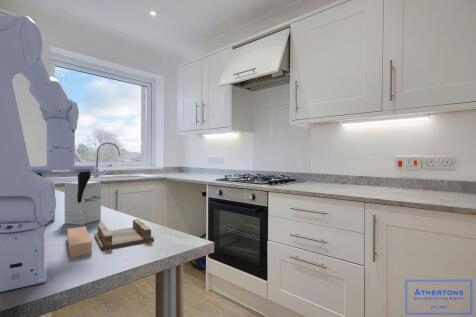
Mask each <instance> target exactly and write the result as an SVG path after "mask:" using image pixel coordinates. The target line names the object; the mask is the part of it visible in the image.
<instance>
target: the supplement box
mask: <svg viewBox="0 0 476 317" xmlns="http://www.w3.org/2000/svg"><path fill="white" fill-rule="evenodd" d="M77 194H78V181H72V182H71V181H70V182H65V183H64V224H69V225H70V224H71V225H77V226H78V225H80V226H85V225H86V224H89V223H93V222H96V221H99V220H101V219H102V218H101V217H102V216H101V215H102V214H101V212H102V181H100V180H99V181H93V180H89V181H88V183H87V185H86V187H85V189H84V192H83V195H82V200H81V203H78V202H77Z"/></svg>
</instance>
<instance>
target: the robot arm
mask: <svg viewBox="0 0 476 317" xmlns="http://www.w3.org/2000/svg"><path fill="white" fill-rule="evenodd" d="M42 52H43V38H42V34H41V30H40V28H39V27H38V25H37V23H36V22H34V20H33V19H32V18H31V17H30V16H27V15H22V16H19V15H10V14H1V13H0V293H2V292H7V291H10V290H16V289H19V288H25V287H29V286H33V285H39V284H42V283H45V282H47V281H48V280H47V276H48V261H47V260H45V225H46V224H48V222H49V221H50V220H51V219H52V218H53V216H54V213H55V214H56V208H57V199H56V194H55V195H54V193H53V192H52V190H51V188H50V184H49V183H50V181H49V180H48V179H47V178H45V177H43V175H70V174H71V175H72V174H76V175H77V182H78V194H77V202H78V203H81V200H82V195H83V192H84V189H85V187H86V185H87V183H88V181H90V179H91V177H92V176H91V174H95V173H96V165H76V164H75V163H76V162H75V160H76V158H75V157H76V155H75V154H76V152H75V150H76V148H75V147H76V145H75V144H76V143H75V142H76V130H77V129H78V120H79V117H80V111H79V105H78V102H76V101H73V99H70V98H69V96H68V95H67V94H66V91H65V90H64V89H63V86H62V85H61V83H60V82H59V80H58V79H56V78H54V77H53V76H50V74H49V72H48V71H47V68H46V66H45V64H44V62H43V59H42ZM18 74H21V75H22V76H23V77H24V78H25V79H26V80H27V81H28V82H29V87H28V90H29V93H30V94H31V95H32V97H33V98H34V100H35V101H36V102H37V103H38V104H39V109H40V112H41V117H42V120H44V121H45V122H46V165H40V166H39V165H38V166H37V165H36V166H31V163H30V159H29V154H28V149H27V146H26V145H27V144H26V141H25V135H24V131H23V130H24V129H23V128H22V127H23V126H22V121H21V116H20V112H19V108H18V102H17V98H16V94H15V88H14V84H13V79H14V78H15V76H16V75H18ZM49 223H50V222H49Z"/></svg>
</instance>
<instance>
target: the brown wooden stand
mask: <svg viewBox="0 0 476 317" xmlns="http://www.w3.org/2000/svg"><path fill="white" fill-rule="evenodd" d="M93 234H94V235H93V236H94V238H95V240H96V242H97V244H98V246H99V249H100V251H103V250H104V251H105V250H110V249H115V248H121V247H126V246H132V245H138V244H143V243H148V242H153V241H155V237H154V236H153V235H152V229H151V228H150V227H149V226H147V224H146V223H144V222H143V221H141V220H140V219H139V218H137V219H132V227H127V228H120V229H111V230H109V229H108V227H107V225H105V223H99V224H97V232H94V233H93Z"/></svg>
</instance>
